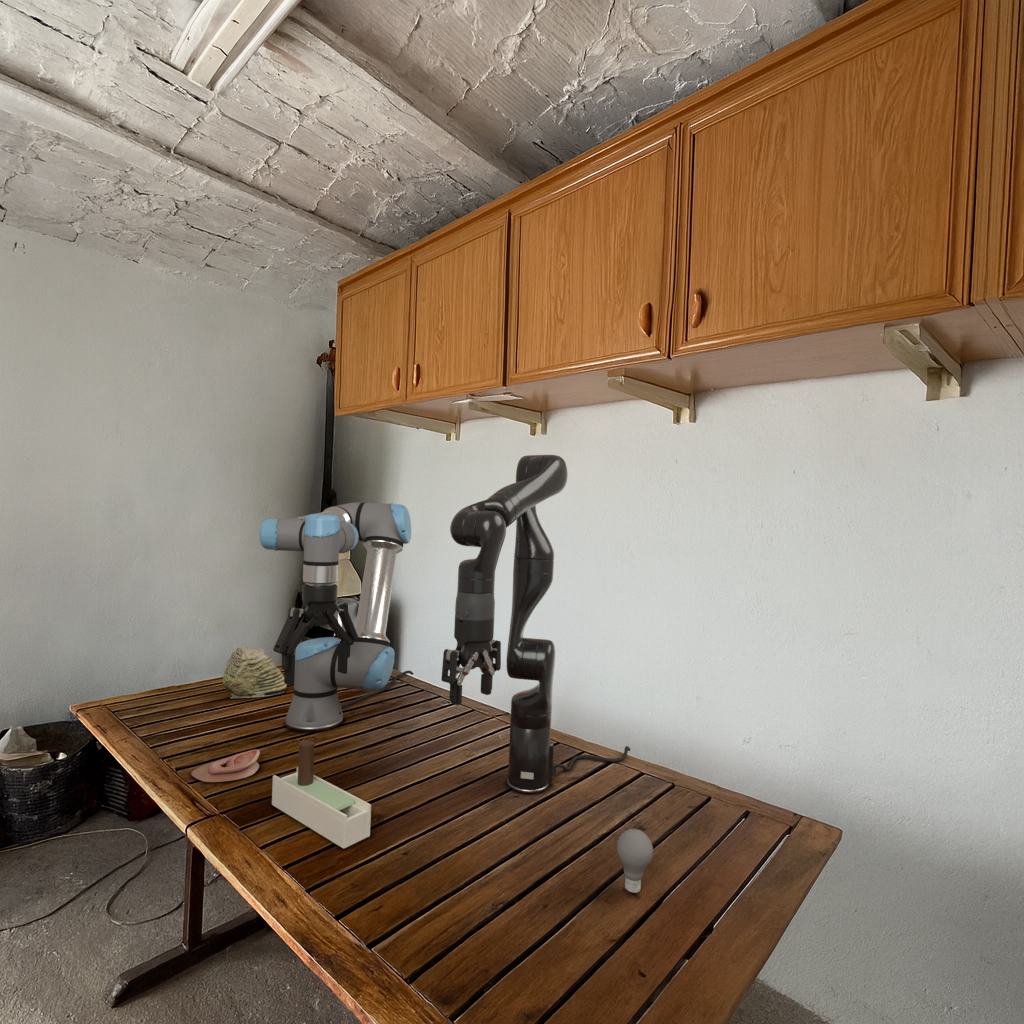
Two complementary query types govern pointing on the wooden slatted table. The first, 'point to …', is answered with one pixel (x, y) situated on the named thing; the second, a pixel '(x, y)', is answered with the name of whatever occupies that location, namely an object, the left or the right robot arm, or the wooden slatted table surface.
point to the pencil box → (323, 812)
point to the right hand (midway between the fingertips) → (471, 698)
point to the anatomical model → (229, 768)
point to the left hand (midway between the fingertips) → (316, 678)
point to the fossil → (252, 674)
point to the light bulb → (634, 857)
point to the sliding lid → (314, 786)
